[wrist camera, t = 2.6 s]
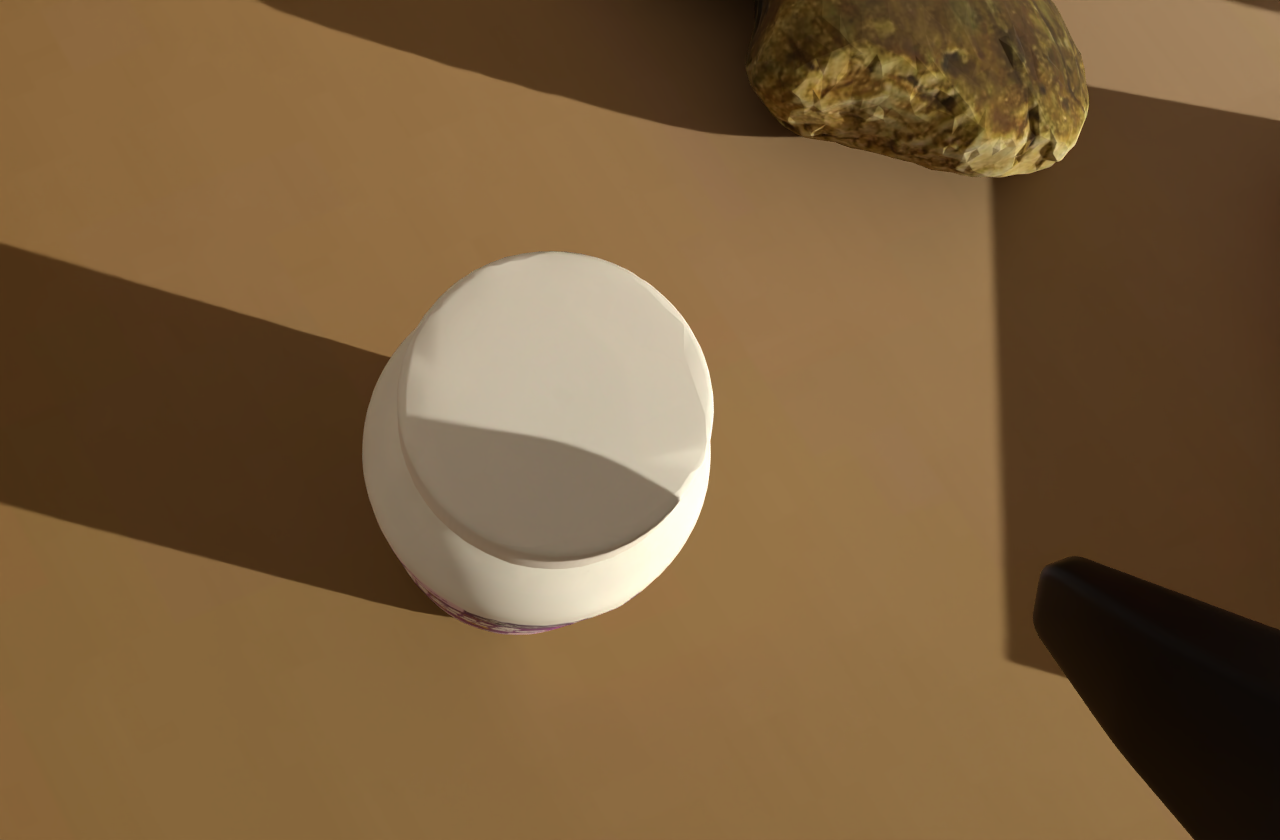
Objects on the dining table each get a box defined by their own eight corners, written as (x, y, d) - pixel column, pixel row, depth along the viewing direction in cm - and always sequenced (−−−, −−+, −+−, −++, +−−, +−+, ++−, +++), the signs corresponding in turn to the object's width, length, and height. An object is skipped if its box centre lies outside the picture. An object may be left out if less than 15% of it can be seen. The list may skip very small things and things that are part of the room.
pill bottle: (354, 592, 20) (253, 528, 10) (443, 366, 21) (424, 138, 12) (596, 670, 20) (703, 674, 11) (666, 444, 22) (810, 281, 12)
